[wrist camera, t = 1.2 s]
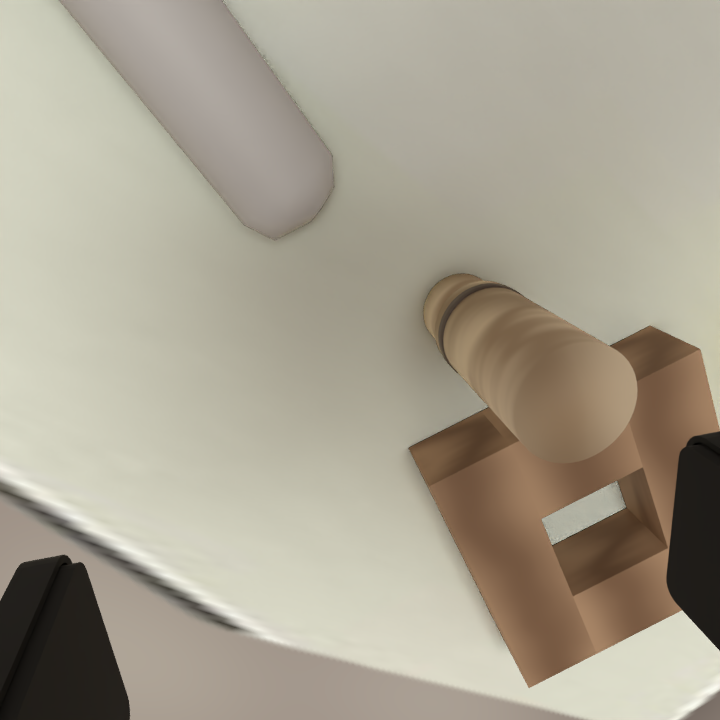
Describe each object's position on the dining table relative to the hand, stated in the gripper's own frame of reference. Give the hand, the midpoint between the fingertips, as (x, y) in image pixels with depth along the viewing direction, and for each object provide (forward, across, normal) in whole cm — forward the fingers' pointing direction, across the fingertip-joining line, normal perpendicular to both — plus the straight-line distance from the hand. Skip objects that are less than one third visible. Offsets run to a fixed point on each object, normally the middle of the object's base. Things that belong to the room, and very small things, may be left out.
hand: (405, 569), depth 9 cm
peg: (+22, -8, +3) cm, 23 cm away
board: (+22, -14, +16) cm, 30 cm away
